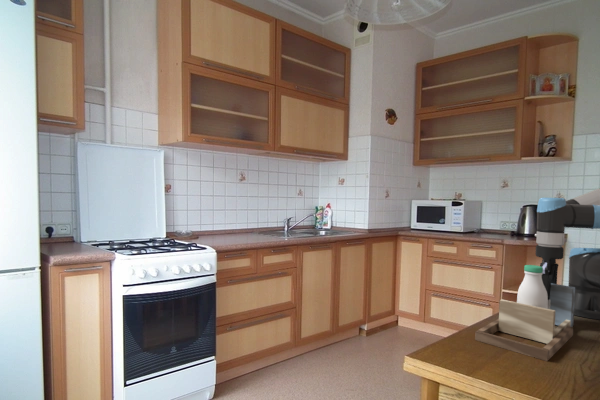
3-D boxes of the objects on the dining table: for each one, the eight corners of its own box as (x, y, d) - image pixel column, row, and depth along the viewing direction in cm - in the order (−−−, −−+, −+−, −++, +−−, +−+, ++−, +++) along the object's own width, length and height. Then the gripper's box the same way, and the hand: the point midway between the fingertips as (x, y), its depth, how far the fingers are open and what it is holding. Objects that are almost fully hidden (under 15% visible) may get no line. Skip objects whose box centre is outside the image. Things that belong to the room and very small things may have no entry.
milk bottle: (551, 340, 106) (554, 269, 106) (520, 337, 108) (523, 267, 108) (540, 331, 114) (543, 264, 114) (512, 328, 116) (514, 262, 115)
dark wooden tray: (508, 320, 123) (509, 312, 123) (572, 335, 111) (573, 327, 111) (475, 339, 105) (475, 331, 105) (547, 361, 93) (547, 351, 93)
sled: (525, 314, 129) (526, 279, 129) (573, 325, 119) (575, 287, 119) (498, 330, 112) (500, 290, 112) (552, 345, 102) (554, 300, 102)
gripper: (543, 242, 131) (540, 309, 131) (528, 245, 119) (525, 320, 119) (569, 244, 125) (566, 315, 126) (556, 249, 114) (553, 326, 114)
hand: (546, 317), depth 123 cm, fingers closed on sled, 4 cm apart
